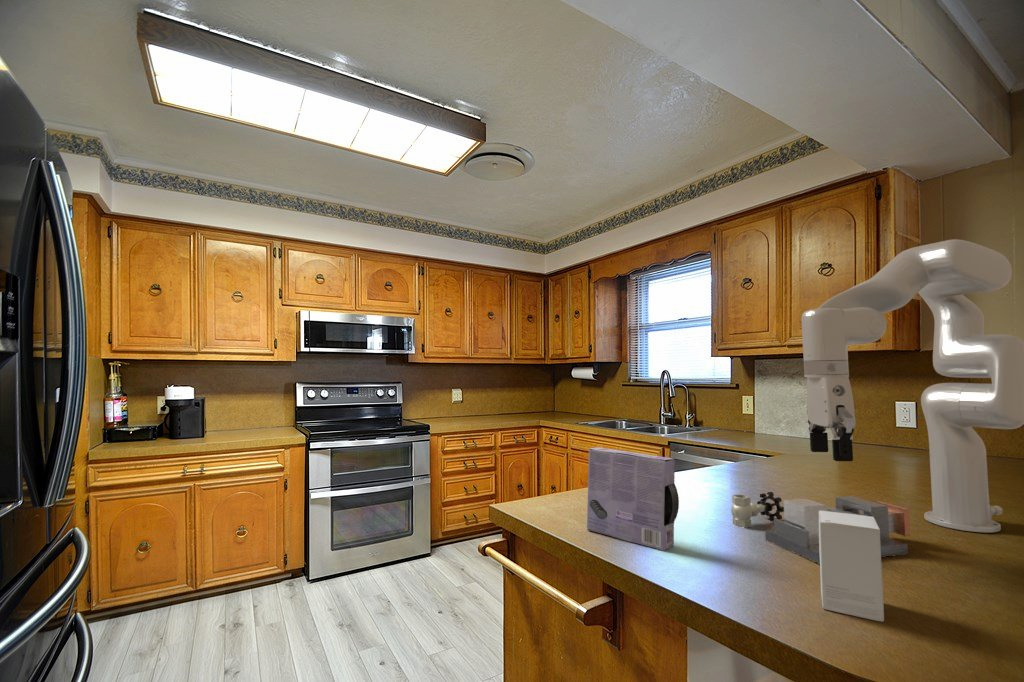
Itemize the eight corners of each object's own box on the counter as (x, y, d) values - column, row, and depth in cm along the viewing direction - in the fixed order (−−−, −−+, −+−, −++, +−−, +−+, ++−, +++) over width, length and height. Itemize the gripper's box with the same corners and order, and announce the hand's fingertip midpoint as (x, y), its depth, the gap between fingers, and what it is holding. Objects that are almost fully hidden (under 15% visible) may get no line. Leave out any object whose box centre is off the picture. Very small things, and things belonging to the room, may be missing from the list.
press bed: (845, 532, 103) (843, 492, 104) (907, 554, 91) (905, 509, 91) (765, 539, 99) (764, 498, 99) (819, 564, 86) (817, 516, 87)
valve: (747, 532, 104) (785, 524, 109) (746, 500, 105) (784, 494, 109) (723, 523, 110) (760, 516, 115) (722, 493, 111) (759, 488, 115)
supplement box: (885, 623, 66) (881, 529, 67) (821, 609, 70) (817, 520, 71) (879, 601, 72) (875, 515, 73) (820, 590, 76) (817, 508, 77)
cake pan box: (681, 546, 95) (679, 456, 96) (669, 553, 92) (667, 459, 93) (598, 525, 108) (597, 446, 109) (585, 531, 105) (584, 448, 106)
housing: (811, 533, 97) (809, 497, 97) (832, 542, 92) (831, 504, 92) (785, 535, 95) (783, 499, 96) (805, 544, 90) (804, 506, 91)
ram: (880, 526, 101) (879, 500, 101) (909, 535, 95) (908, 508, 96) (825, 531, 98) (824, 505, 98) (852, 541, 92) (851, 513, 92)
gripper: (870, 369, 88) (876, 465, 87) (826, 369, 105) (830, 449, 104) (825, 370, 89) (830, 464, 88) (788, 370, 106) (792, 448, 105)
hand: (830, 456), depth 96 cm, fingers open, 9 cm apart
